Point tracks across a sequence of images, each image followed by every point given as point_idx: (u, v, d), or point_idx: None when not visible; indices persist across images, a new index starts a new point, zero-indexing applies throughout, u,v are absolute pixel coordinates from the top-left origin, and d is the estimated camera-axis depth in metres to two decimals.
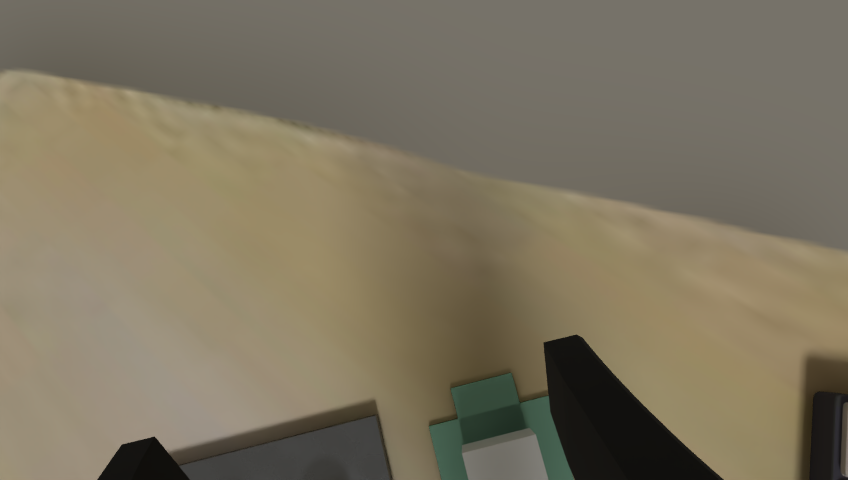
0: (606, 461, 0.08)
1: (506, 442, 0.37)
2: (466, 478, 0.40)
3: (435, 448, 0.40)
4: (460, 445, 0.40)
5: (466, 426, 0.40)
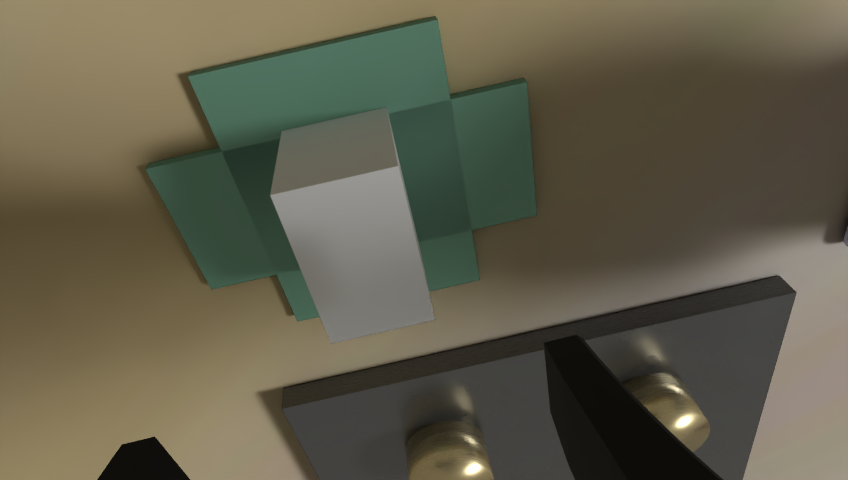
0: (606, 461, 0.08)
1: (299, 259, 0.14)
2: None
3: None
4: None
5: (290, 260, 0.18)
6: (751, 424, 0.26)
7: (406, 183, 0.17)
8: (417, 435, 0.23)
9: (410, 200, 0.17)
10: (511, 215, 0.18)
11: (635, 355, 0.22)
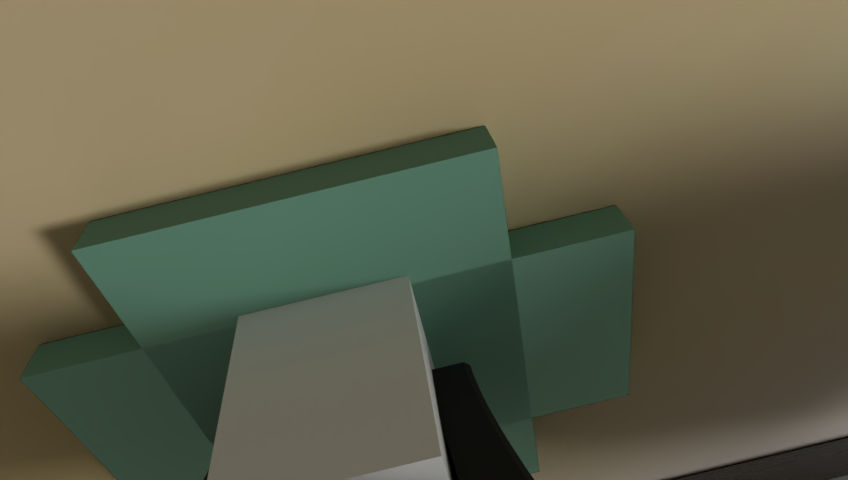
0: None
1: None
2: None
3: None
4: None
5: None
6: None
7: None
8: None
9: None
10: (591, 396, 0.12)
11: None
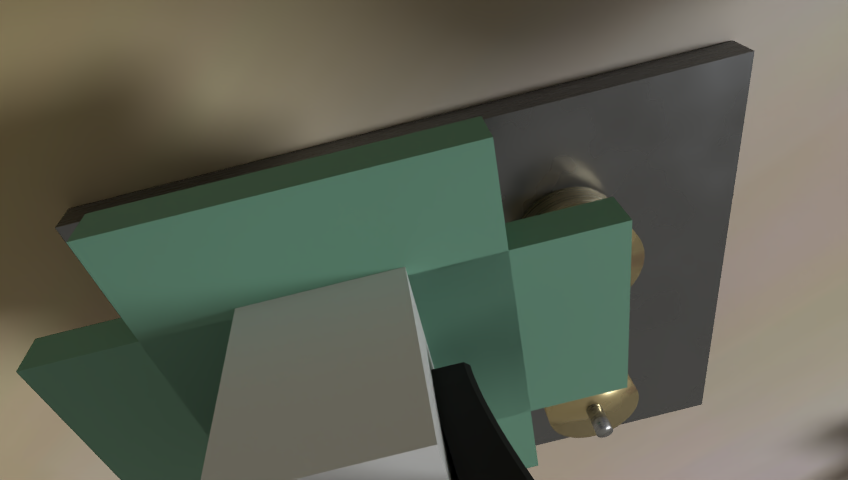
0: None
1: None
2: None
3: None
4: None
5: None
6: (711, 277, 0.20)
7: (435, 362, 0.11)
8: None
9: None
10: (590, 389, 0.12)
11: (540, 154, 0.16)
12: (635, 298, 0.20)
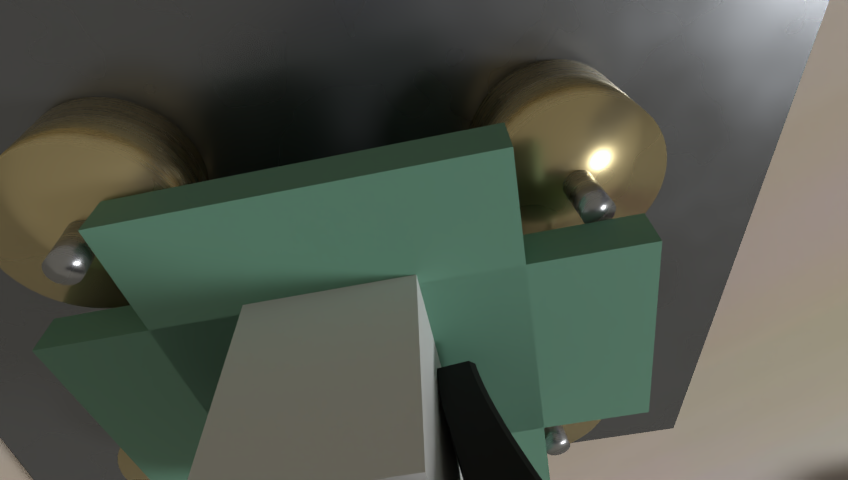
0: None
1: None
2: None
3: None
4: None
5: None
6: (726, 249, 0.15)
7: None
8: (35, 121, 0.10)
9: None
10: (608, 411, 0.12)
11: None
12: None
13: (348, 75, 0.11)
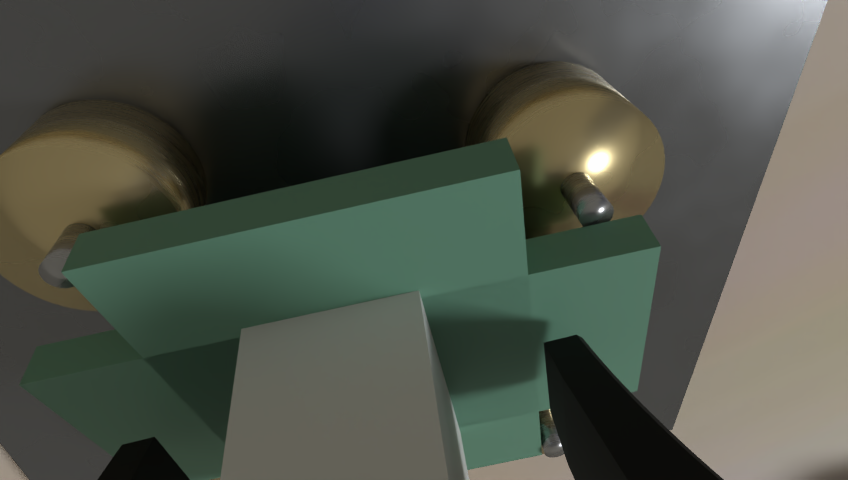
0: (606, 461, 0.08)
1: None
2: None
3: None
4: None
5: None
6: (724, 250, 0.15)
7: (445, 372, 0.11)
8: (32, 124, 0.10)
9: (450, 389, 0.11)
10: None
11: None
12: None
13: (345, 77, 0.11)
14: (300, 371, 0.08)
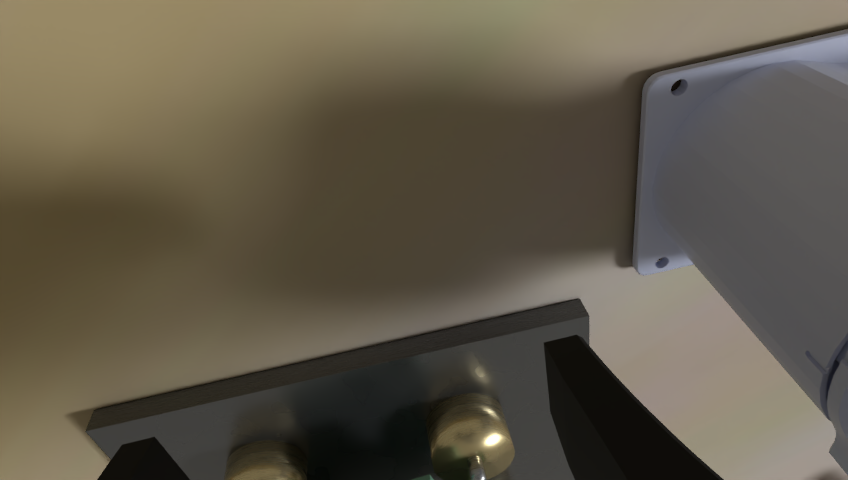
0: (606, 461, 0.08)
1: None
2: None
3: None
4: None
5: None
6: None
7: None
8: (233, 455, 0.23)
9: None
10: None
11: (440, 376, 0.23)
12: (524, 455, 0.27)
13: (365, 416, 0.23)
14: None
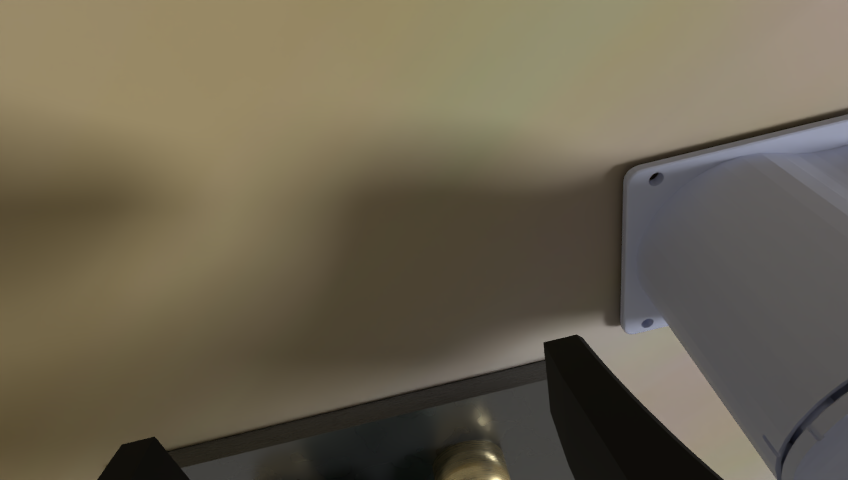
0: (606, 461, 0.08)
1: None
2: None
3: None
4: None
5: None
6: None
7: None
8: None
9: None
10: None
11: (445, 426, 0.25)
12: None
13: (376, 462, 0.25)
14: None
